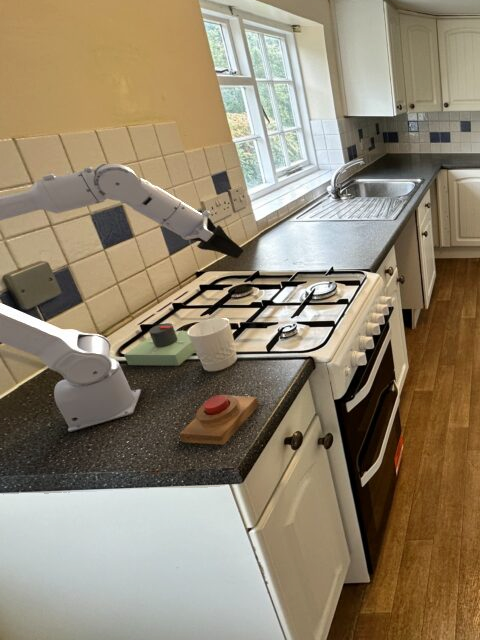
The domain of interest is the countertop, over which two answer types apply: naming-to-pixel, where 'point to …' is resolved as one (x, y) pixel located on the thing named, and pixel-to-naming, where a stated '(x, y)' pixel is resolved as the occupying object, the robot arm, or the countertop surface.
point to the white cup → (213, 343)
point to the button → (216, 404)
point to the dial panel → (161, 352)
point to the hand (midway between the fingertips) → (235, 250)
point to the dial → (163, 335)
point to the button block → (219, 422)
